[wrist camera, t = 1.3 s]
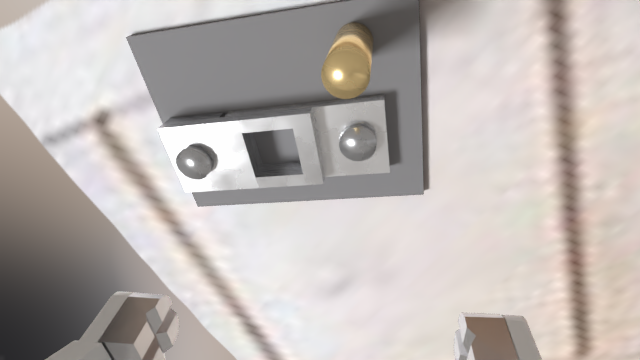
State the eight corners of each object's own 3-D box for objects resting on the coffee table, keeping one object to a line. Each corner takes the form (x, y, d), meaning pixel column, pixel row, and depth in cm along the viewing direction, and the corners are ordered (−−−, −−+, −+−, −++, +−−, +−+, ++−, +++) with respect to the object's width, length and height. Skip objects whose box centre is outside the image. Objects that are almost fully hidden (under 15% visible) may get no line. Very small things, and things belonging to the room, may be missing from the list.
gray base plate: (417, -12, 27) (418, -11, 27) (423, 190, 37) (423, 194, 36) (129, 35, 32) (125, 37, 32) (200, 203, 42) (197, 206, 41)
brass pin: (371, 19, 28) (367, 47, 22) (374, 59, 30) (372, 96, 23) (332, 25, 29) (317, 54, 22) (337, 64, 31) (325, 101, 24)
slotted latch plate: (384, 94, 32) (384, 109, 29) (389, 165, 35) (390, 184, 33) (170, 117, 36) (152, 132, 33) (195, 179, 39) (181, 197, 37)
